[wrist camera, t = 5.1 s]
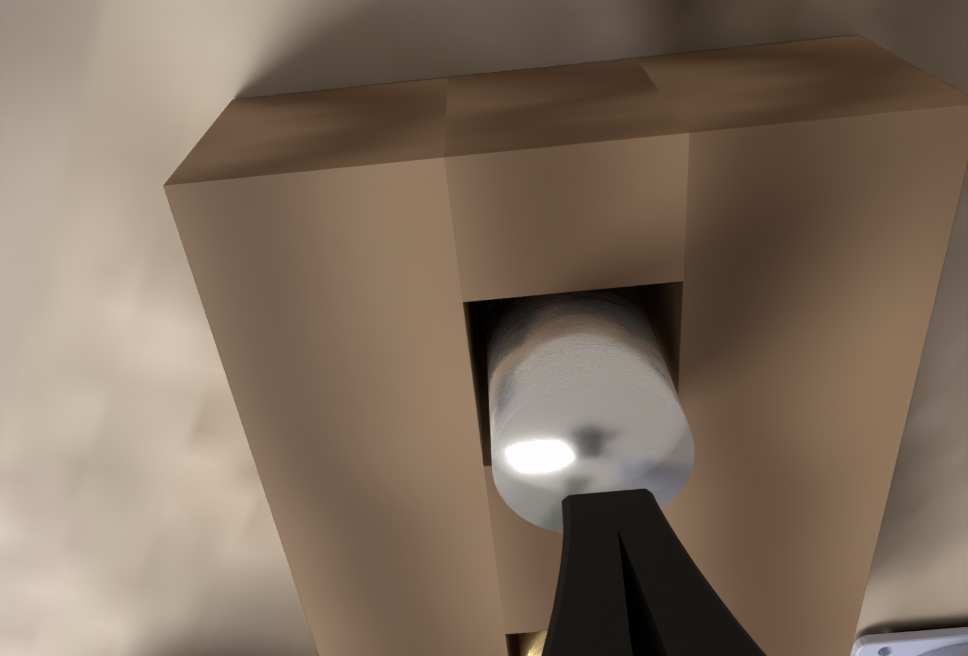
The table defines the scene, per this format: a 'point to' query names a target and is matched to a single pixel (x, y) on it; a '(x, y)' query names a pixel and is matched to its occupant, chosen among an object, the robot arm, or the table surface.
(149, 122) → the table surface
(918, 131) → the socket block
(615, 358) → the peg
